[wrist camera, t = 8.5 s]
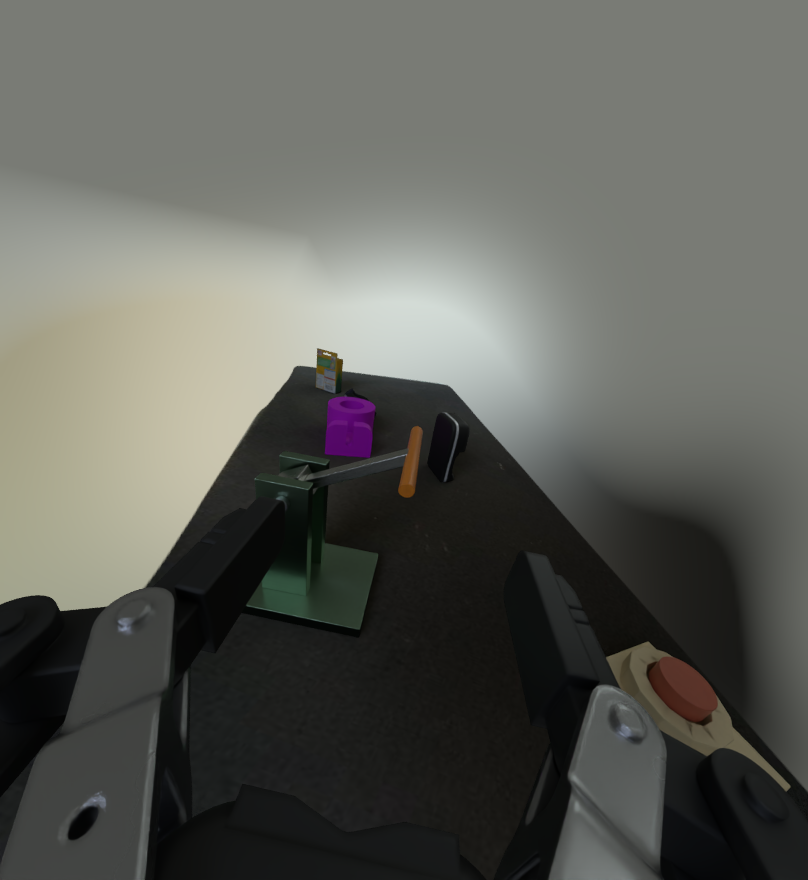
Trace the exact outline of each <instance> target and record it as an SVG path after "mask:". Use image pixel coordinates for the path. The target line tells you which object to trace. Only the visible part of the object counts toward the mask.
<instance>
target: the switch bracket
mask: <svg viewBox="0 0 808 880" xmlns="http://www.w3.org/2000/svg"><path fill="white" fill-rule="evenodd" d="M329 462H330V460H329V459H324V458H318V457H313V456H308V455H303V454H298V453H293V452H288V451H284V452H283V453H282V454H281V455H280V473H281V472H283V471H286V470H290V469H294V468H298V467H301V466H305V465H308V466H309V468H310V470H311V472H312V473H316V472H320V471H324V470H328V469H329ZM255 489H256V499H257V498H258V497H260V496H263V497H268V498H272V499H277V500H282V501H284V503H285V540H284V544H283V546H282V549H281V551H280V553H279V555H278V556H277V558H276V559H275V561H274V563H273V564H272V566H271V567H270V569H269V570H268V572H267V573H266V575H265V577H264V578H263V580H262V581H261V583H260V584H259V586H258V587H257V589H256V591H255V592H254V594H253V595H252V597H251V598H250V600H249V601H248V603H247V605H246V606H245V608H244V609H243V611H242V612H241V613H246V614H250V615H255V616H260V617H264V618H269V619H274V620H279V621H283V622H288V623H293V624H297V625H302V626H307V627H311V628H316V629H321V630H326V631H330V632H335V633H340V634H344V635H349V636H354V637H359V634H360V630H361V626H362V622H363V618H364V614H365V610H366V606H367V601H368V597H369V593H370V589H371V585H372V581H373V577H374V572H375V568H376V564H377V560H378V554H377V553H372V552H367V551H362V550H357V549H352V548H347V547H342V546H337V545H332V544H327V543H325V532H326V514H327V497H328V485H327V486H323V487H319V488H318V489H317V490H316V492H315V493H314V495H313V483H312V482H306V481H301V480H296V479H291V478H286V477H281V476H276V475H271V474H266V473H261V474H259V475H258V476H257V477H256V478H255Z"/></svg>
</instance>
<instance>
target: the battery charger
mask: <svg viewBox="0 0 808 880" xmlns="http://www.w3.org/2000/svg"><path fill="white" fill-rule="evenodd" d="M469 432H470V429H469V426H468V424H467V423H466V422H465V421H464V420H463V419H462V418H460V417H459V416H458V415H456V414H455V413H446V412H442V413H439V414H438V416H437V419H436V423H435V427H434V432H433V437H432V442H431V447H430V452H429V457H428V461H427V464H428V465H429V467H430V468H431V470H432V471H433V473H434V474H435V475H436V476H437V478H438V479H439V480H440V481H441V482H446V481H451V480H453V479H454V475H453V474H452V468H453V464H454V461H455V458H456V457H457V455H458V454H459V452H464V451H465V449H466V446H467V442H468V437H469Z"/></svg>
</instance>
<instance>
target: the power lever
mask: <svg viewBox="0 0 808 880" xmlns="http://www.w3.org/2000/svg"><path fill="white" fill-rule="evenodd" d="M422 433H423V431H422V429H421V428H420V427H418V426H416V427H413V428H412V430H411V435H410V439H409V444H408V448H407V449H404V450H400V451H397V452H393V453H389V454H385V455H381V456H377V457H374V458H370V459H366V460H362V461H358V462H355V463H351V464H347V465H343V466H339V467H335V468H332V469H328V470H324V471H320V472H316V473H312V472H311V470H310V468H309V466H308V465H305V466H301V467H298V468H294V469H290V470H286V471H283V472H281V473H280V474H279V475H278V476H281V477H286V478H291V479H296V480H301V481H306V482H312V483H313V495H314V493H315V492H316V490H317V489H318V488H319V487H323V486H327V485H331V484H335V483H339V482H343V481H347V480H351V479H355V478H359V477H363V476H367V475H371V474H375V473H379V472H383V471H387V470H391V469H395V468H399V467H403V471H402V475H401V480H400V484H399V489H398V491H399V494H400V495H401V496H403V497H406V498H408V497H411V496H413V495H414V493H415V486H416V479H417V471H418V463H419V456H420V448H421V441H422Z"/></svg>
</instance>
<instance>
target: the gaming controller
mask: <svg viewBox="0 0 808 880" xmlns="http://www.w3.org/2000/svg"><path fill="white" fill-rule="evenodd" d="M345 397H354V398H360V399H364V400H367V401H369V400H368V399H367V398H365V397H364V396H361V395H358V394H356V393H355V392H354V391H353V388H352V389H350V390H349V391H347V392H346V393H345ZM375 416H376V412H375V414H374V418H375Z"/></svg>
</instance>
